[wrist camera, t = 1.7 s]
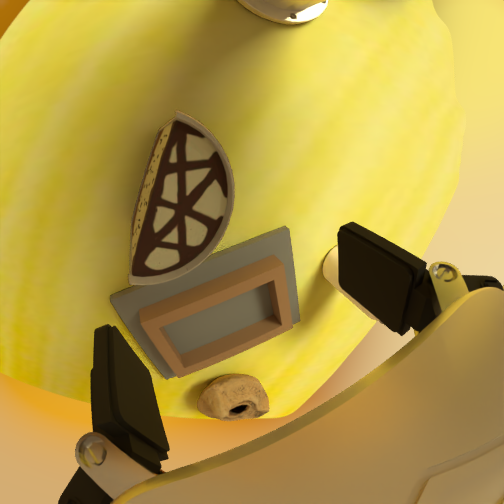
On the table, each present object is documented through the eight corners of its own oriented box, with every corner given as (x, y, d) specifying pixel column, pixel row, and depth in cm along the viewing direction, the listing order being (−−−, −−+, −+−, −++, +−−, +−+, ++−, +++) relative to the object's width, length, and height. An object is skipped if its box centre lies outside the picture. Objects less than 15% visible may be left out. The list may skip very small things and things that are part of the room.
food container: (183, 246, 28) (208, 301, 20) (127, 235, 25) (128, 291, 17) (223, 134, 25) (269, 141, 17) (164, 114, 22) (180, 107, 13)
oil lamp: (246, 403, 48) (262, 434, 41) (179, 398, 39) (192, 437, 33) (279, 368, 46) (300, 400, 40) (210, 357, 38) (228, 399, 31)
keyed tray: (110, 295, 27) (109, 314, 24) (285, 225, 32) (300, 237, 30) (165, 374, 36) (169, 392, 33) (296, 317, 41) (308, 331, 38)
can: (317, 283, 40) (370, 333, 30) (324, 244, 37) (386, 290, 27) (349, 275, 42) (401, 317, 32) (357, 238, 39) (417, 277, 29)
